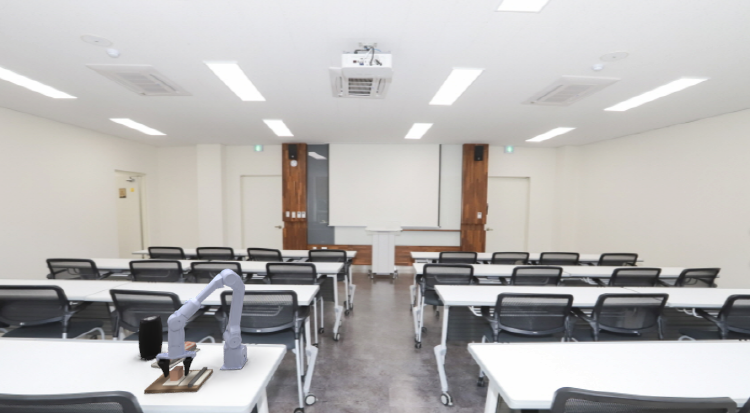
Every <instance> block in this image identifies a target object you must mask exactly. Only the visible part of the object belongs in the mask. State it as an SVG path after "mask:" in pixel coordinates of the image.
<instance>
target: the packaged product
mask: <svg viewBox="0 0 750 413" xmlns="http://www.w3.org/2000/svg"><path fill="white" fill-rule="evenodd" d="M185 350H187V351H196V353H198V352H199V351H201V348H198V345H197V343H196V342H195V341H188V340H187V341H185ZM167 352H168V351H166V352H165V353H167ZM185 359H186V358H177V359H170V364H169V370H170V369H173V368H174V367H175V366H177V365H179V364H180V363H183V361H184V360H185ZM158 362H159V361H155V362H153V363H151V364H150V367H151V368H153V369H154V368H155V369H161V368H160V367H159V366H158Z"/></svg>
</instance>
